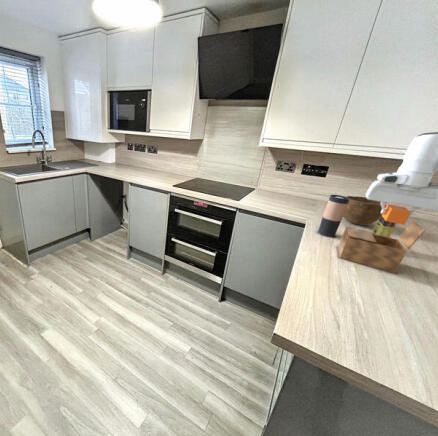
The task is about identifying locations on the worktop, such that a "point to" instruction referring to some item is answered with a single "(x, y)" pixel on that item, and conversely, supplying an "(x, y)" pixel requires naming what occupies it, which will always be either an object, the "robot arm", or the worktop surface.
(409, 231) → the carton flap
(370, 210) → the bowl
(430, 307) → the worktop surface
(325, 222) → the travel mug
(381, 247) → the carton
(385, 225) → the sauce bottle
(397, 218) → the orange block
